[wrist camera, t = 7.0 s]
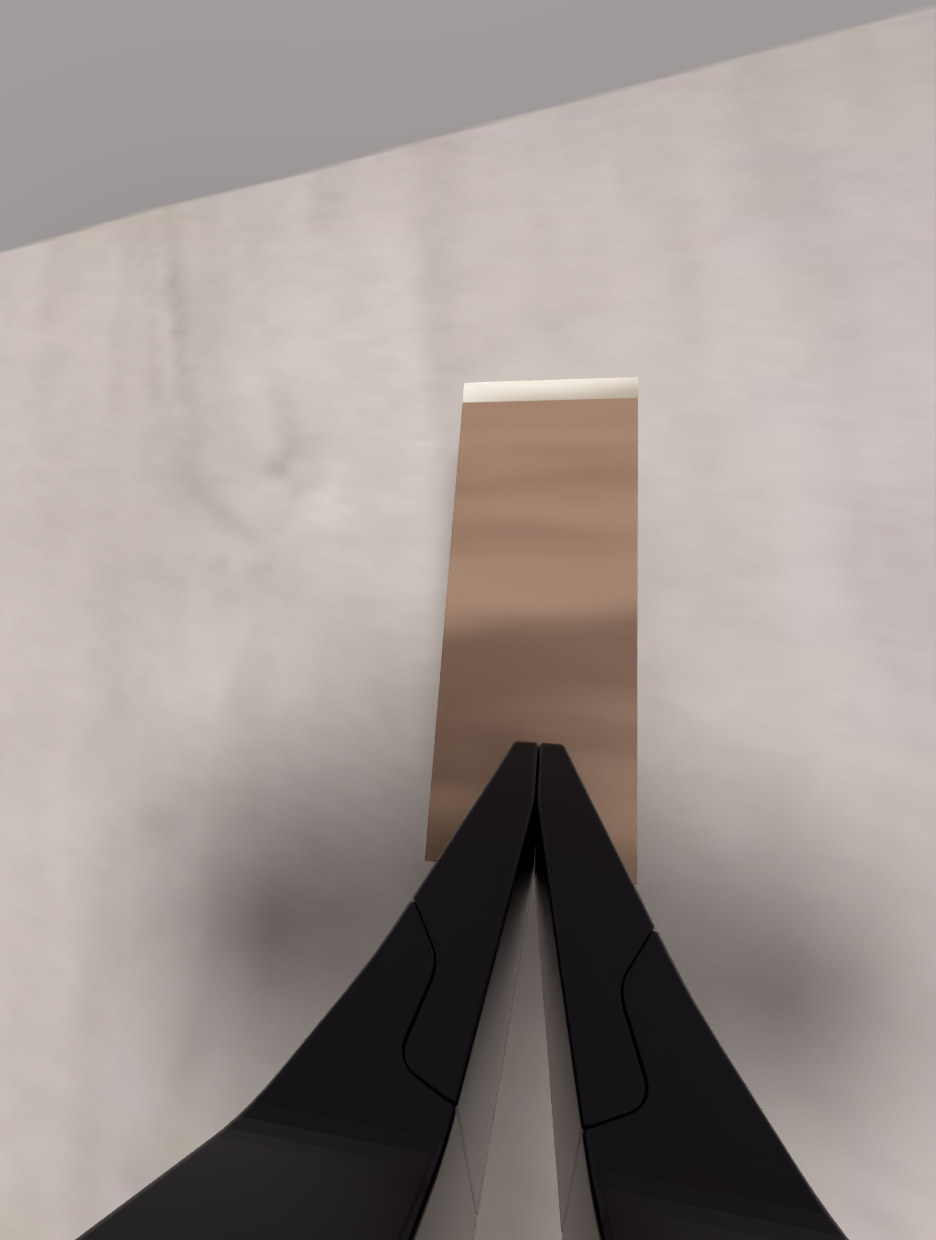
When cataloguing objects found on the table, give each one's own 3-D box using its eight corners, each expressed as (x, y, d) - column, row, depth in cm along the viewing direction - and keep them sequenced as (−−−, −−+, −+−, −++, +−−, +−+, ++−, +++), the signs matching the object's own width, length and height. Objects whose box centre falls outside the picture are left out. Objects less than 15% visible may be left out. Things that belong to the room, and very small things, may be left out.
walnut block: (636, 884, 11) (637, 377, 13) (425, 860, 12) (464, 383, 14) (610, 843, 15) (615, 465, 18) (458, 827, 16) (483, 466, 18)
